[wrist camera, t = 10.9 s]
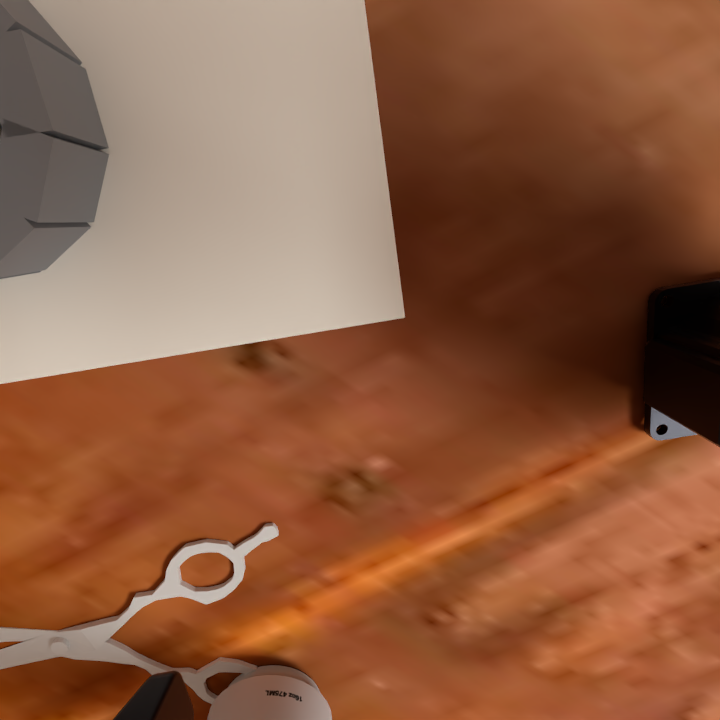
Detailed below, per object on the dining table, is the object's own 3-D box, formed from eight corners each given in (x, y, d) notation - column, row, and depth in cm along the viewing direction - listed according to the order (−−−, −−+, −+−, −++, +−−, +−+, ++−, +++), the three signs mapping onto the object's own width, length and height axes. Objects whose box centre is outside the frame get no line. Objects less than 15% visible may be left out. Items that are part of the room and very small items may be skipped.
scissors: (301, 704, 23) (-109, 749, 23) (302, 689, 24) (-95, 732, 23) (276, 525, 20) (-199, 570, 19) (278, 514, 21) (-179, 557, 20)
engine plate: (328, -233, 13) (325, -450, 9) (399, 309, 18) (420, 338, 14) (-433, -113, 13) (-806, -275, 9) (-162, 401, 18) (-320, 459, 14)
